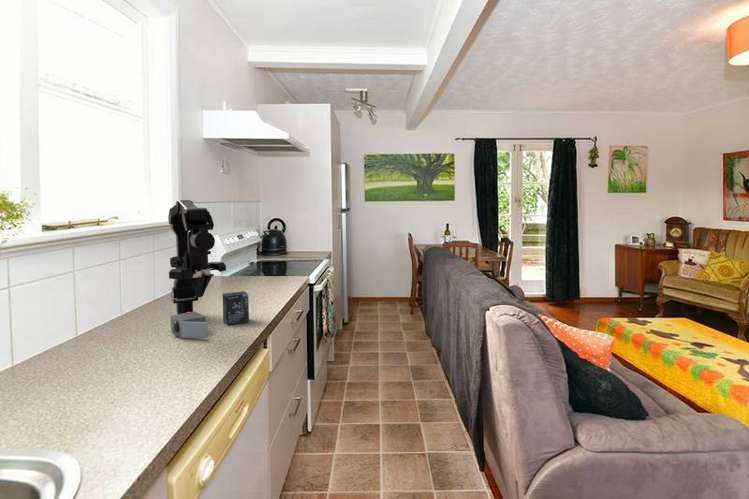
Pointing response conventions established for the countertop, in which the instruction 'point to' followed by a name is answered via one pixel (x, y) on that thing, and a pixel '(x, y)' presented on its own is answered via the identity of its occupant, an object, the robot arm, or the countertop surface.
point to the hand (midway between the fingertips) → (200, 297)
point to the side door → (193, 329)
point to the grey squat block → (184, 320)
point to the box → (235, 308)
